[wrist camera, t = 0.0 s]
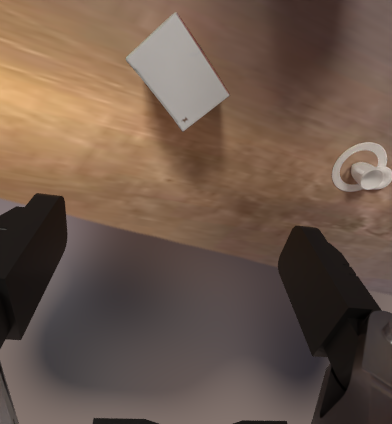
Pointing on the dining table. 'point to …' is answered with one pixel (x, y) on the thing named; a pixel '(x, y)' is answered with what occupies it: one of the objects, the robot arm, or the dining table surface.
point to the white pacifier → (364, 170)
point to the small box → (178, 72)
